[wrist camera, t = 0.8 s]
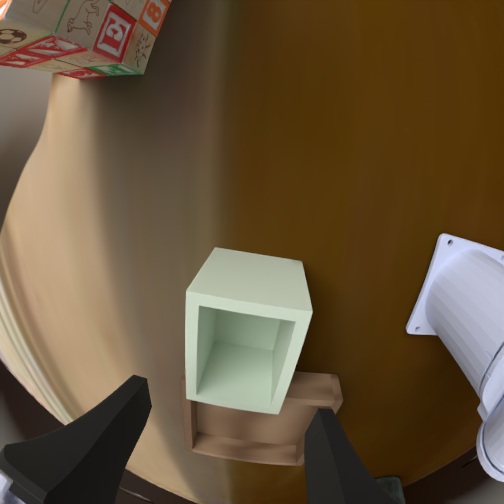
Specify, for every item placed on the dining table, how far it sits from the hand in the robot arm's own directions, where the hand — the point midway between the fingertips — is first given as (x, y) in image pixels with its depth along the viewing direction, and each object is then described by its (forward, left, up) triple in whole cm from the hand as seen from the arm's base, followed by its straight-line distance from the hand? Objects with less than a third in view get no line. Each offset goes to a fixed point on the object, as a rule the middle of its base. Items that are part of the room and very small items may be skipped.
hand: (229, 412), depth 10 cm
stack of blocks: (+11, -25, -9) cm, 29 cm away
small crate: (0, 0, -9) cm, 9 cm away
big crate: (-2, +11, -9) cm, 15 cm away
